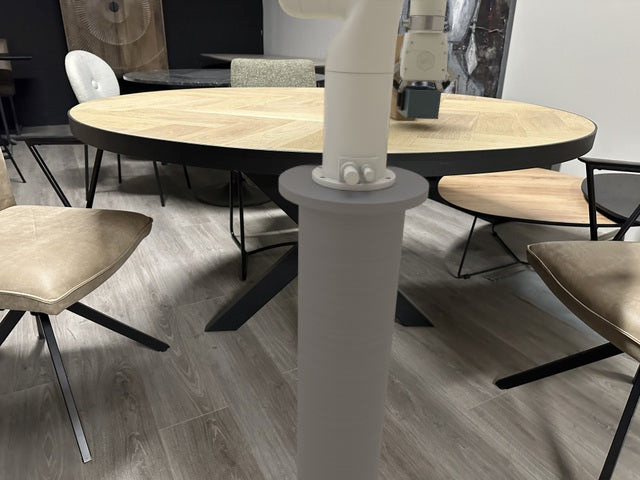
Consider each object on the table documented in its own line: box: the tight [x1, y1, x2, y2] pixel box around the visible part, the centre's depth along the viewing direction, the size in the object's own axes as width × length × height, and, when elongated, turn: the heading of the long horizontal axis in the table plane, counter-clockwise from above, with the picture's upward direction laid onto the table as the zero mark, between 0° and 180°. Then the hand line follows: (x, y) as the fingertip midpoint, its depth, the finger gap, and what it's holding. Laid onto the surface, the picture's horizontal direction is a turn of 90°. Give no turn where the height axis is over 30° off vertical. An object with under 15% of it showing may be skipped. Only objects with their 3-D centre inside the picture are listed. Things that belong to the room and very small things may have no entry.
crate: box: [398, 85, 442, 120], centre depth 108 cm, size 11×7×6 cm, turn 2°
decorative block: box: [390, 33, 416, 121], centre depth 120 cm, size 11×6×20 cm, turn 8°
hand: (417, 109), depth 109 cm, fingers closed on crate, 7 cm apart
